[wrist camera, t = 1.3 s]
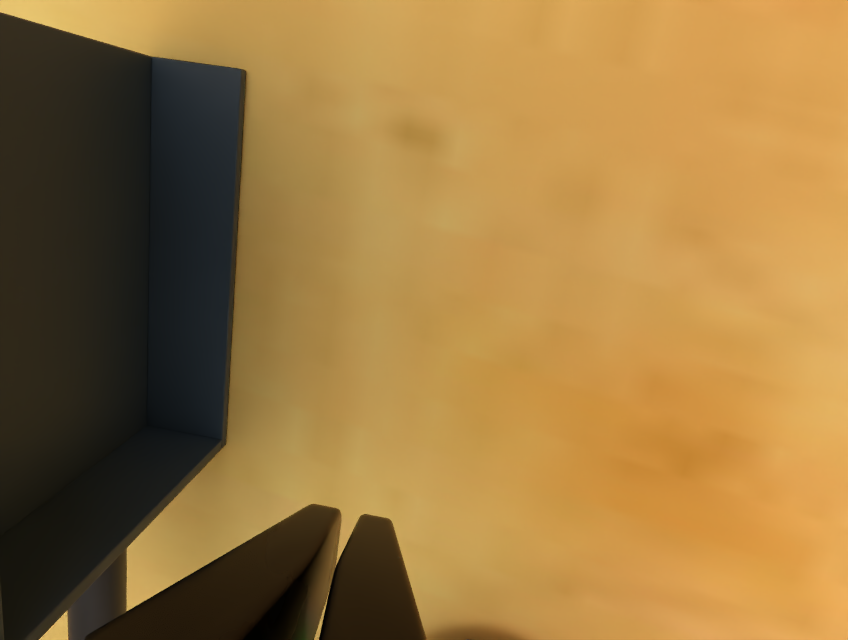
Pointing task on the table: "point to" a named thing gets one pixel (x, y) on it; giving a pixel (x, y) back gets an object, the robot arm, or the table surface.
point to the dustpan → (106, 308)
